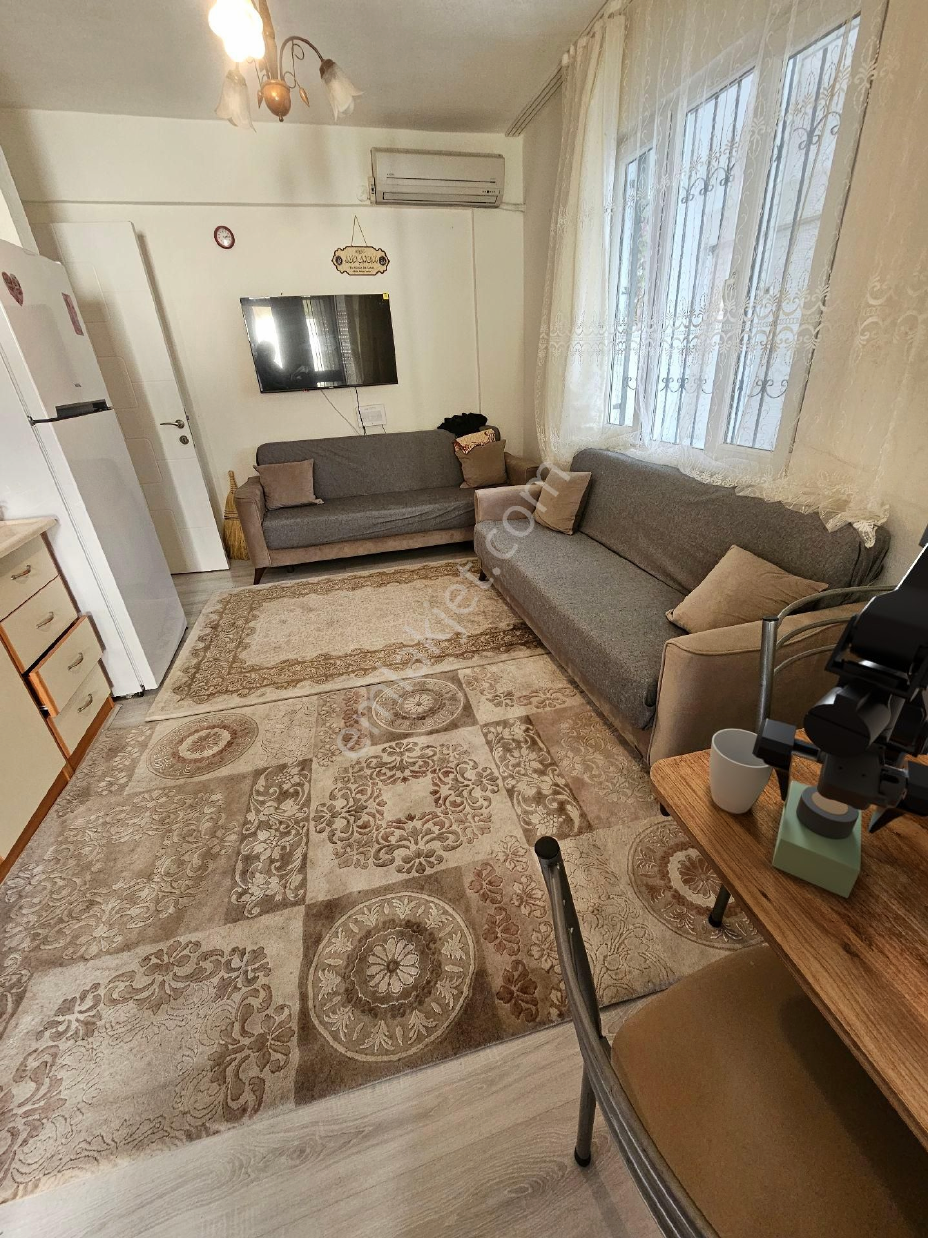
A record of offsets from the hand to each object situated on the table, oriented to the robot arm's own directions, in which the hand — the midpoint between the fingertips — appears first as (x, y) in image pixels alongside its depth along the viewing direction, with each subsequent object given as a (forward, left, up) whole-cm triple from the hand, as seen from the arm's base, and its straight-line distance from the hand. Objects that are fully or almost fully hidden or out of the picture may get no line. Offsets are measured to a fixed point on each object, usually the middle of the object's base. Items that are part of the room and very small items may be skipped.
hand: (825, 814), depth 64 cm
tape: (0, 0, -1) cm, 1 cm away
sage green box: (0, 0, -6) cm, 6 cm away
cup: (-3, -11, -6) cm, 13 cm away
